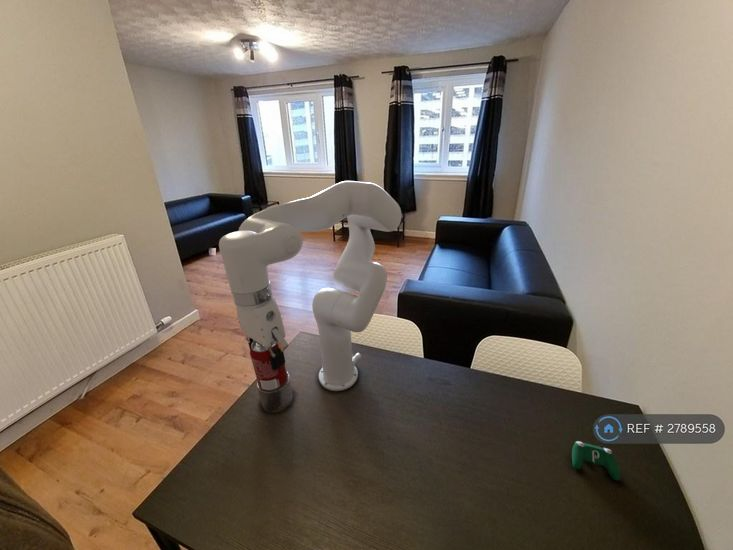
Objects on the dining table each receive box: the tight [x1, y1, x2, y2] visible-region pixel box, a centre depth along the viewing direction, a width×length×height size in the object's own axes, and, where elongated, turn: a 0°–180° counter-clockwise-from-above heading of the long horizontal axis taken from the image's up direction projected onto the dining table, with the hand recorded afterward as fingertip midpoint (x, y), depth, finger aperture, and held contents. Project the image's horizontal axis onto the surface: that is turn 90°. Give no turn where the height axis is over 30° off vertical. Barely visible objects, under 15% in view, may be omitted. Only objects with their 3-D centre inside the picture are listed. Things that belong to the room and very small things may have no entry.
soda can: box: [249, 338, 288, 391], centre depth 70 cm, size 7×7×12 cm
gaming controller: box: [571, 440, 621, 481], centre depth 71 cm, size 9×4×6 cm
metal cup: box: [256, 371, 294, 413], centre depth 88 cm, size 9×9×9 cm
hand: (268, 359), depth 69 cm, fingers closed on soda can, 6 cm apart
